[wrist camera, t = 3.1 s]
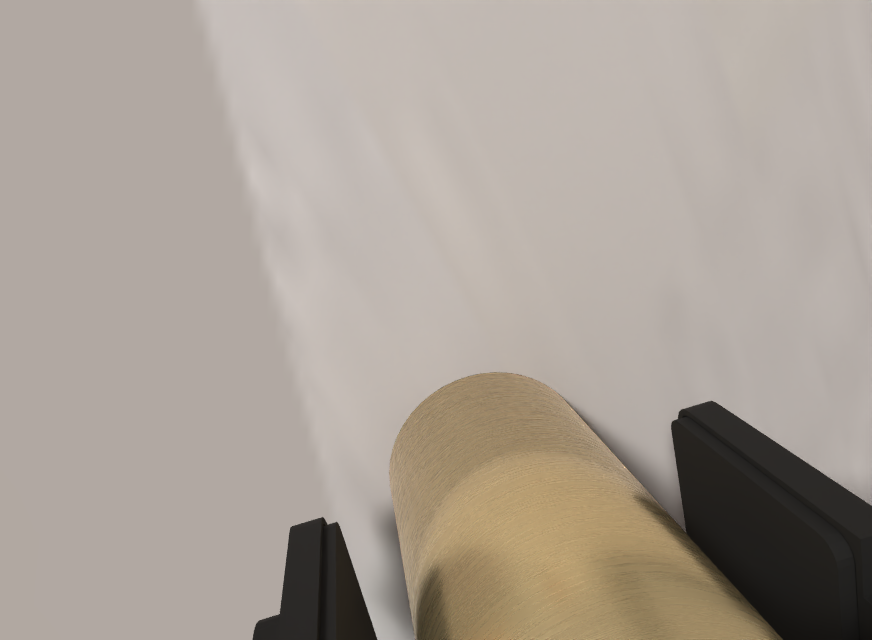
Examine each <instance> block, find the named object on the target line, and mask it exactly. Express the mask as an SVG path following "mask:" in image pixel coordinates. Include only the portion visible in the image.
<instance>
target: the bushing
mask: <svg viewBox="0 0 872 640" xmlns="http://www.w3.org/2000/svg"><path fill="white" fill-rule="evenodd" d="M389 476H390V487H391V493H392V499H393V506H394V512H395V518H396V524H397V530H398V536H399V543H400V549H401V555H402V561H403V567H404V573H405V579H406V586H407V592H408V598H409V604H410V610H411V616H412V623H413V629H414V635H415V640H783V639H782V638H781V637H780V636H779V635H778V634H777V632H776V631H775V630H774V629H773V628H772V627H771V626H770V625H769V624H768V623H767V622H766V620H765V619H764V618H763V617H762V616H761V615H760V614H759V613H758V612H757V611H756V609H755V608H754V607H753V606H752V605H751V604H750V603H749V602H748V601H747V600H746V598H745V597H744V596H743V595H742V594H741V593H740V592H739V591H738V590H737V589H736V588H735V586H734V585H733V584H732V583H731V582H730V581H729V580H728V579H727V578H726V577H725V575H724V574H723V573H722V572H721V571H720V570H719V569H718V568H717V567H716V566H715V564H714V563H713V562H712V561H711V560H710V559H709V558H708V557H707V556H706V555H705V554H704V552H703V551H702V550H701V549H700V548H699V547H698V546H697V545H696V544H695V543H694V541H693V540H692V539H691V538H690V537H689V536H688V535H687V534H686V533H685V532H684V530H683V529H682V528H681V527H680V526H679V525H678V524H677V523H676V522H675V521H674V520H673V518H672V517H671V516H670V515H669V514H668V513H667V512H666V511H665V510H664V509H663V507H662V506H661V505H660V504H659V503H658V502H657V501H656V500H655V499H654V498H653V496H652V495H651V494H650V493H649V492H648V491H647V490H646V489H645V488H644V487H643V486H642V484H641V483H640V482H639V481H638V480H637V479H636V478H635V477H634V476H633V475H632V473H631V472H630V471H629V470H628V469H627V468H626V467H625V466H624V465H623V464H622V463H621V461H620V460H619V459H618V458H617V457H616V456H615V455H614V454H613V453H612V452H611V450H610V449H609V448H608V447H607V446H606V445H605V444H604V443H603V442H602V441H601V439H600V438H599V437H598V436H597V435H596V434H595V433H594V432H593V431H592V430H591V429H590V427H589V426H588V425H587V424H586V423H585V422H584V421H583V420H582V419H581V418H580V416H579V415H578V414H577V413H576V412H575V411H574V410H573V409H572V408H571V407H570V405H569V404H568V403H567V402H566V401H565V400H564V399H563V398H562V397H561V396H560V395H559V394H557V393H556V392H555V391H554V390H552V389H551V388H549V387H548V386H546V385H545V384H543V383H541V382H539V381H537V380H534V379H532V378H529V377H525V376H522V375H518V374H512V373H497V372H493V373H483V374H477V375H473V376H468V377H465V378H462V379H459V380H457V381H454V382H452V383H450V384H448V385H446V386H444V387H442V388H441V389H439V390H437V391H436V392H434V393H433V394H431V395H430V396H429V397H428V398H427V399H425V400H424V401H423V402H422V403H421V404H420V405H419V406H418V407H417V408H416V409H415V410H414V411H413V412H412V413H411V415H410V416H409V418H408V419H407V420H406V422H405V423H404V425H403V427H402V428H401V430H400V432H399V434H398V436H397V439H396V441H395V444H394V447H393V450H392V455H391V459H390V470H389Z"/></svg>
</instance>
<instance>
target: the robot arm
mask: <svg viewBox="0 0 872 640" xmlns="http://www.w3.org/2000/svg"><path fill="white" fill-rule="evenodd" d="M671 430H672V437H673V444H674V450H675V457H676V464H677V471H678V478H679V484H680V491H681V498H682V505H683V512H684V518H685V525H686V532H687V535H688V536H689V537H690V538H691V539H692V540H693V541H694V543H695V544H696V545H697V546H698V547H699V548H700V549H701V550H702V551H703V552H704V554H705V555H706V556H707V557H708V558H709V559H710V560H711V561H712V562H713V563H714V564H715V566H716V567H717V568H718V569H719V570H720V571H721V572H722V573H723V574H724V575H725V577H726V578H727V579H728V580H729V581H730V582H731V583H732V584H733V585H734V586H735V588H736V589H737V590H738V591H739V592H740V593H741V594H742V595H743V596H744V597H745V598H746V600H747V601H748V602H749V603H750V604H751V605H752V606H753V607H754V608H755V609H756V611H757V612H758V613H759V614H760V615H761V616H762V617H763V618H764V619H765V620H766V622H767V623H768V624H769V625H770V626H771V627H772V628H773V629H774V630H775V631H776V632H777V634H778V635H779V636H780V637H781V638H782V639H783V640H872V506H871V505H869V504H868V503H866V502H865V501H863V500H862V499H860V498H859V497H857V496H856V495H854V494H853V493H851V492H850V491H848V490H847V489H845V488H844V487H842V486H841V485H839V484H838V483H836V482H835V481H833V480H832V479H830V478H829V477H827V476H826V475H824V474H823V473H821V472H820V471H818V470H817V469H815V468H814V467H812V466H811V465H809V464H808V463H806V462H805V461H803V460H802V459H800V458H799V457H797V456H796V455H794V454H793V453H791V452H790V451H788V450H787V449H785V448H784V447H782V446H781V445H779V444H778V443H776V442H775V441H773V440H772V439H770V438H769V437H767V436H766V435H764V434H763V433H761V432H760V431H758V430H757V429H755V428H753V427H752V426H750V425H749V424H747V423H746V422H744V421H743V420H741V419H740V418H738V417H737V416H735V415H734V414H732V413H731V412H729V411H728V410H726V409H725V408H723V407H722V406H720V405H719V404H717V403H716V402H713V401H709V402H705V403H702V404H699V405H695V406H692V407H689V408H685V409H682V410H681V411H680V412H679V415H678V419H677V420H674V421H673V422H672V425H671ZM253 640H377V637H376V634H375V631H374V628H373V625H372V622H371V619H370V616H369V613H368V610H367V607H366V604H365V601H364V598H363V595H362V592H361V589H360V586H359V583H358V580H357V577H356V574H355V571H354V568H353V565H352V562H351V559H350V556H349V553H348V550H347V547H346V544H345V541H344V538H343V535H342V532H341V529H340V526H339V524H338V523H337V522H335V523H332V524H329V525H327V523H326V521H325V519H324V518H323V517H322V518H318V519H315V520H312V521H308V522H305V523H301V524H298V525H295V526H292V527H291V528H290V533H289V542H288V550H287V558H286V567H285V575H284V583H283V592H282V600H281V609H280V614H279V615H276V616H272V617H269V618H266V619H263V620H260V621H258V623H257V624H256V627H255V630H254V634H253Z"/></svg>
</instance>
